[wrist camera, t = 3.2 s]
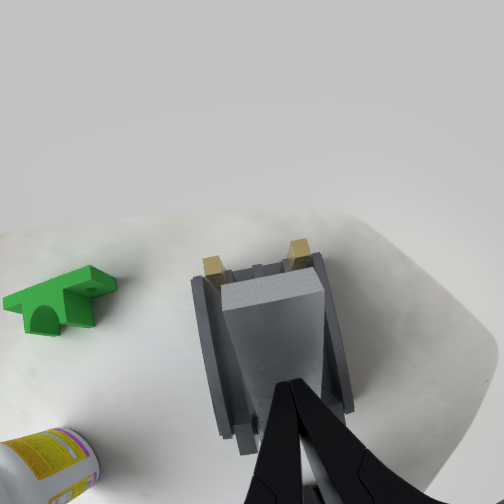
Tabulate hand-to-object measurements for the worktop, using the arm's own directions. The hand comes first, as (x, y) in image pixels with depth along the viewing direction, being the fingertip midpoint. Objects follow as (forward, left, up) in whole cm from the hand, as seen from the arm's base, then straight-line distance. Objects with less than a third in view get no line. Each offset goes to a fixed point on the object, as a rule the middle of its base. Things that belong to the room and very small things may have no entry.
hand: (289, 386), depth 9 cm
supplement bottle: (-8, +20, -13) cm, 26 cm away
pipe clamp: (+7, +18, -13) cm, 23 cm away
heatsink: (+1, 0, -13) cm, 13 cm away
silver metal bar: (0, 0, -4) cm, 4 cm away
